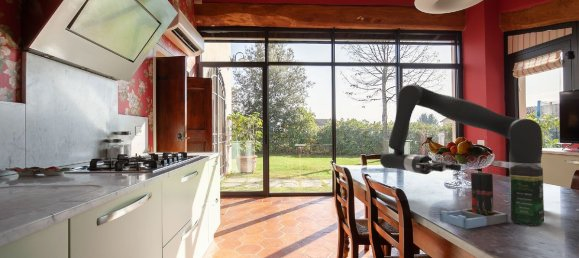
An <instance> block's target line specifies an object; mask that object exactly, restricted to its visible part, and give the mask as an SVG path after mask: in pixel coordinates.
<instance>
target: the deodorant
mask: <svg viewBox="0 0 579 258" xmlns="http://www.w3.org/2000/svg"><path fill="white" fill-rule="evenodd" d="M493 177H494V176H493V173H489V172H471V173H470V186H471V187H470V188H471V189H470V190H471V209H472V213H475V214H479V215H483V216H490V215H494V211H495V210H494V185H493V184H494V183H493V180H494V179H493Z"/></svg>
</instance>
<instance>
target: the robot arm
mask: <svg viewBox="0 0 579 258" xmlns="http://www.w3.org/2000/svg"><path fill="white" fill-rule="evenodd" d="M416 106H418V107H422V108H426V109H429V110H431V111H434V112H435V113H437V114H439V115H441V116H442V117H445V118H446V119H448V120H451V121H454V122H456V123H460V124H462V125H465V126H469V127H472V128H476V129H481V130H484V131H485V130H486V131H490V132H492V133H495V134H498V135H499V136H502V137H504V138H506V139H508V140H509V154H508V157H509V158H508V159H509V161H508V163H509V169H510V167H512V166H515V165H519V164H523V163H530V164H537V165H538V166H540V167H542V155H543V132H542V131H543V130H542V127H541V125H540V124H539V123H538V122H537V121H536V120H533V119H530V118H517V117H511V116H507V115H503V114H500V113H497V112H495V111H493V110H491V109H490V108H489V109H488V108H487V107H485V106H483V105H481V104H478V103H475V102H472V101H469V100H465V99H462V98H458V97H456V96H451V95H446V94H441V93H437V92H435V91H432V90H430V89H428V88H425V87H423V86H421V85H419V84H415V83H410V84H406V85H404V86H402V87H401V88H400V90H399V91H398V98H397V108H396V114H395V119H394V123H393V125H392V130H391V134H390V137H389V140H388V147H389V148H390V149H392V150H393V152H385V153H382V154H381V156H380V158H379V163H380V165H381V166H382V167H384V168H385V169H392V170H393V169H395V170H402V171H407V172H411V173H414V174H415V173H416V174H420V175H421V174H422V175H429V174H430V173H431V172H441V173H443V172H445V171H458V172H461V171H462V166H461V164H456V163H455V162H446V161H439V160H433V158H432V157H430V156H429V155H426V154H424V155H423V154H422V155H421V154H405V146H406V142H407V139H408V135H409V130H410V121H411V118H412V114H413V112H414V110H415V108H416ZM509 186H510V185H509ZM509 191H510V192H509V193H510V194H509V195H510V197H511V186H510V187H509ZM543 200H544V201H545V199H544V198H543Z"/></svg>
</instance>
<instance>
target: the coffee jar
mask: <svg viewBox="0 0 579 258" xmlns="http://www.w3.org/2000/svg"><path fill="white" fill-rule="evenodd" d="M509 186H511V196H510V220H511V222H515V223H517V224H520V225H523V226H535V227H537V226H541V225H543V224H544V223H545V204H544V203H545V202H544V201H545V199H544V169H543V167H542V166H541V167H540V166H538V165H537V164H530V163H523V164H519V165H515V166H512V167H510V168H509ZM543 199H544V200H543Z"/></svg>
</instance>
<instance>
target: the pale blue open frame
mask: <svg viewBox="0 0 579 258" xmlns="http://www.w3.org/2000/svg"><path fill="white" fill-rule="evenodd" d="M508 214H509V213H506V212H500V211H496V210H494V215H490V216H483V215H479V214H475V213H472V208H465V209H458V210H450V211H447V210H441V212H439V221H440V222H444V223H446V224H450V225H453V226H456V227H458V228H459V227H460V228H462V229H466V230H468V229H473V228H480V227H486V226H491V225H492V226H493V225H497V224H504V223H508V222H509V215H508Z"/></svg>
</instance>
